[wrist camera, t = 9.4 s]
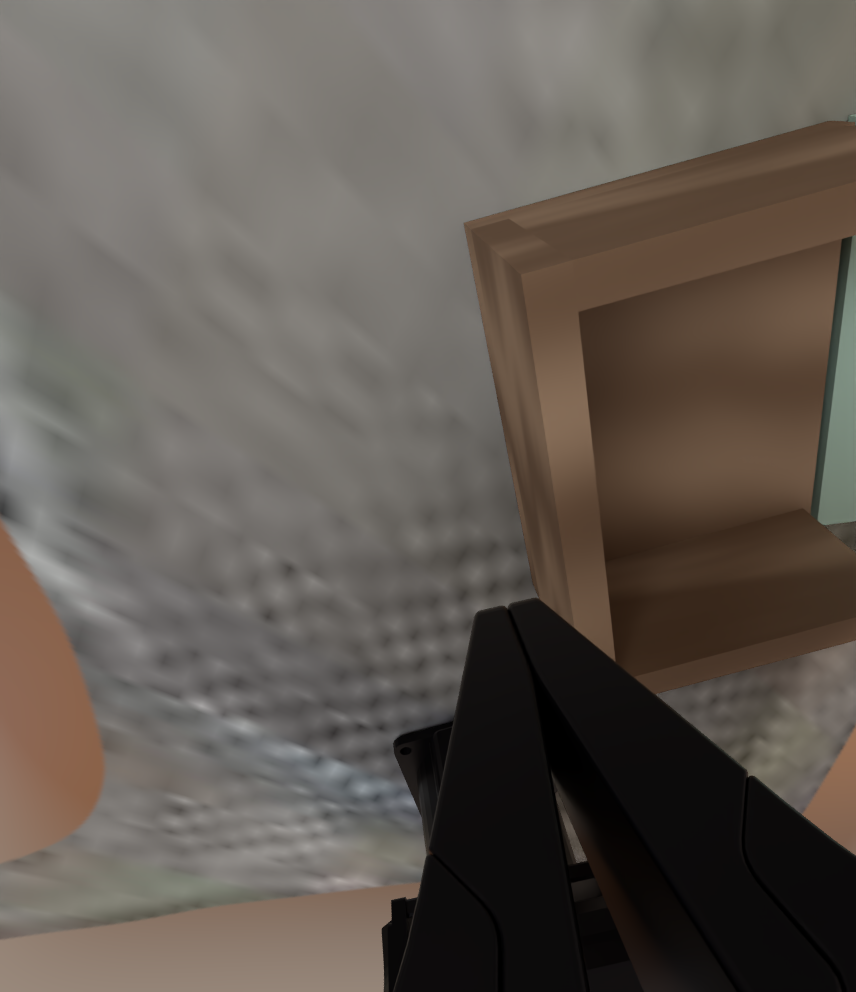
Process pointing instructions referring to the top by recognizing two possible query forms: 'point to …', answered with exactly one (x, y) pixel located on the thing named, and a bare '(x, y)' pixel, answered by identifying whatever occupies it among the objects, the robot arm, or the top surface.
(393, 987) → the robot arm
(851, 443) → the panel
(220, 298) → the top surface
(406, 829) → the top surface
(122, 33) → the top surface
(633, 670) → the crate
